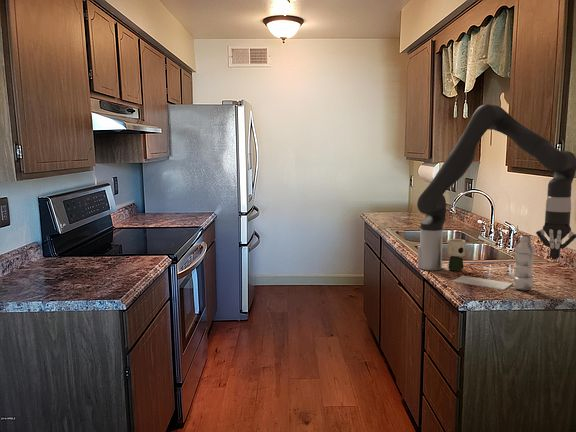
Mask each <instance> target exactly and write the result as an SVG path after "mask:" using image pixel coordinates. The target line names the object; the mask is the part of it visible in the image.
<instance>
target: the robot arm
mask: <svg viewBox="0 0 576 432" xmlns="http://www.w3.org/2000/svg"><path fill="white" fill-rule="evenodd" d="M488 130H489V131H492V130H493V131H496V132H499V133H501V134H503V135H505V136H506V137H508V138H509V139H511V140H512V141H513V143H514V144H516V145H517V147H519V148H520V149H521V150H522V151H524V152H525V153H526V154H528V155H530V156H531V157H533V158H535V159H536V160H537V161H538V162H539V163H540V164H541V165H542V166H543V167H545V168H546V170H549V171H550V172H554V173H553V177H552V179H550V180H549V182H548V184H547V193H546V194H547V196H546V202H545V215H544V224H543V226H542V229H540V230H537V231H536V232H535V234H536V236H537V237H538V238H539V240H540V241H541V242H542V243H543V245H544V246H545V247H548V248H549V249H550V250H549V258H551V260H555V261H556V260H558V259H559V258H560V257H561V249H565V248H567V247H568V246H569V245H570V244H571V243H572V242H573V241H574V240H575V239H576V233H574V232H573V230H572V228H571V226H570V225H571V212H572V199H571V197H572V183H573V181H574V179H575V175H576V156H575V155H576V154H574V153H573V152H571V151H568V150H565V151H564V150H563V151H561V150H559V149H557V148H556V147H554V146H553V145H552V143H551V141H550V140H548V139H546V138H545V137H543V136H541V135H540V134H538V133H536V132H535V131H533V130H531V129H530V128H528V127H526V126H524V125H523V124H521V122H519V121H518V120H516V119H515V118H513V116H511V115H510V113H508V112H507V111H506V110H505V109H503V107H502V106H499V105H495V104H491V103H489V104H488V103H484V104H482V105H480V106H478V107H477V108H476V109H475V111H474V113H473V114H472V116H471V117H470V120H469V122H468V123H467V126H466V127H465V129H464V131H463V132H462V134H461V136H460V137H459V139H458V141H457V142H456V144H455V146H454V147H453V148H452V149H451V151H450V153H449V154H448V155H447V157H446V159H445V160H444V162H443V164H442V165H441V167H440V168H439V170H438V171H437V172H436V174H435V175H434V177H433V179H432V180H431V182H430V183H429V184H428V185H427V186H426V188H425V189H424V190H423V192H422V193H421V194H420V195H419V197H418V198H417V199H418V200H417V204H416V205H417V210H418V211H419V212H420V213H421V214H423V215H425V217H424V219H423V220H422V221H421V222H420V231H419V232H420V233H419V234H420V235H419V236H420V237H419V238H420V239H419V245H418V246H417V268H418V269H421V270H426V271H439V270H442V268H443V263H442V262H443V233H444V232H443V231H444V229H443V228H444V224H445V223H446V214H447V213H446V211H447V200H446V197H445V195H444V193H446V192H447V190H448V189H449V188H450V187H451V186H453V185H454V184H455V183H456V182H458V181H459V180H460V179H461V178H462V177H463V176H464V175H465V173H466V172H467V171H468V170H469V167H471V165H472V163H473V162H474V159H475V156H476V155H475V154H476V149H477V146H478V144H479V142H480V140H481V138H482V137H483V136H484V134H485V133H486V132H487V131H488ZM546 236H547V237H548V238H549V240H548V238H547V237H546ZM566 237H568V239H566V240H565V242H563V239H565V238H566Z"/></svg>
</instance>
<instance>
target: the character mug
mask: <svg viewBox="0 0 576 432" xmlns="http://www.w3.org/2000/svg"><path fill="white" fill-rule="evenodd" d="M466 245H467V243H466V240H465V239H459V238H451V239H448V240H447V255H448V256H450V257H449V260H448V261H449V262H448V266H447V269H448V270H451V271H453V272H456V271H457V272H459V271H460V272H461V271H463V270H464V261H463V257H464V256H466Z"/></svg>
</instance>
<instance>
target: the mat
mask: <svg viewBox="0 0 576 432" xmlns="http://www.w3.org/2000/svg"><path fill="white" fill-rule="evenodd" d="M452 282H453V283H459V284H466V285H471V286H477V287H483V288H489V289H494V290H500V291H505V290H507V288H509V287H511V286H512V285H513V283H512V282H506V281H501V280H495V279H494V280H493V279H487V278H480V277H474V276H469V275H461V276H459V277H457V278H455V279H453V280H452Z"/></svg>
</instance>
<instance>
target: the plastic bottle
mask: <svg viewBox="0 0 576 432" xmlns="http://www.w3.org/2000/svg"><path fill="white" fill-rule="evenodd" d="M531 242H532V235H530V234H520V235H519V243H518V244H517V245H516V246H515V250H514V254H515V272H514V277H513V280H512V281H513V283H512V285H513V287H514V288H515V289H516V290H519V291H530V290H532V288H533V286H534V279H533V264H534V263H533V260H534V257H535V247H534V246H533V244H532V243H531Z"/></svg>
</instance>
